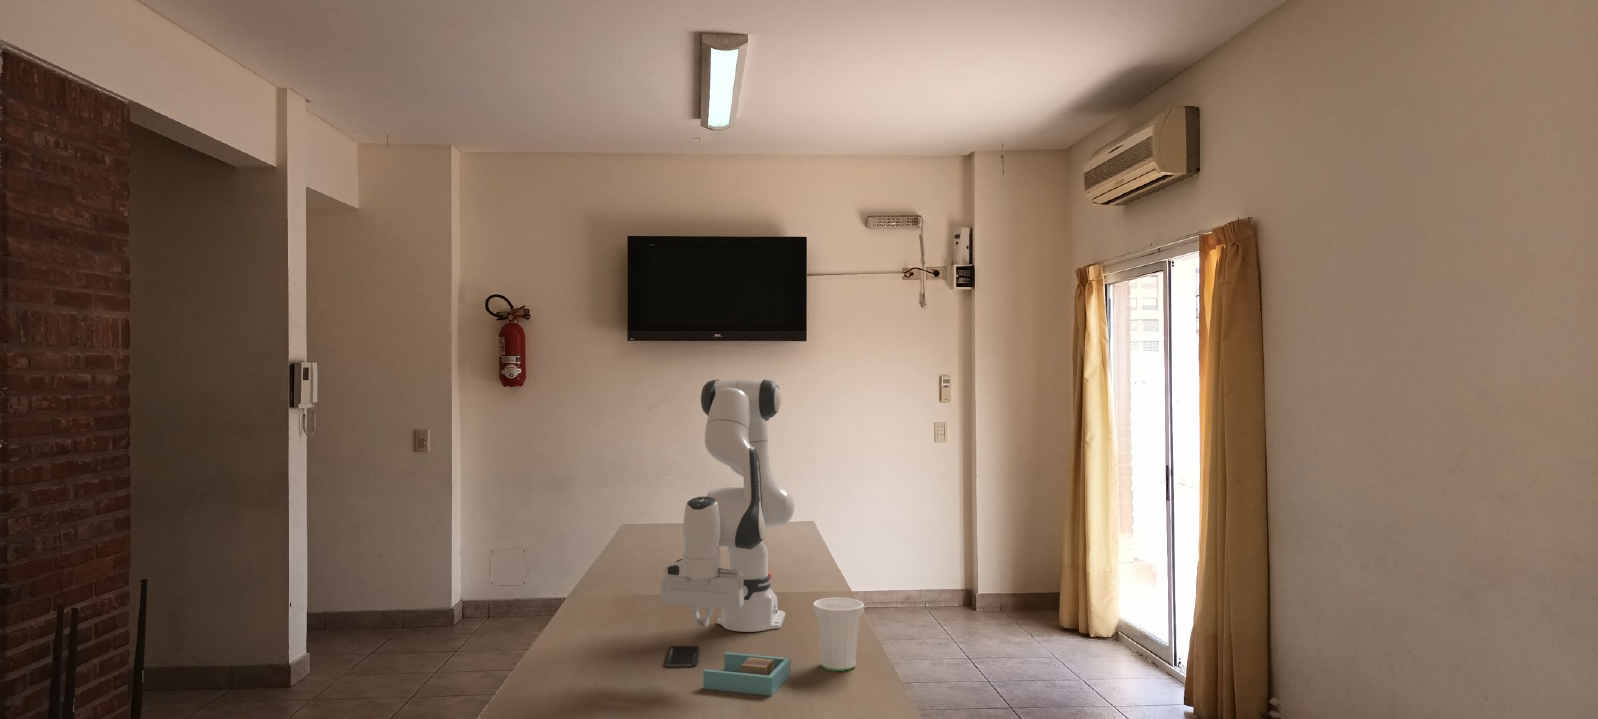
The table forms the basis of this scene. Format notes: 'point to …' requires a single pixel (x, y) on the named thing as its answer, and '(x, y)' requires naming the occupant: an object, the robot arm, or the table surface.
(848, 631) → the cup
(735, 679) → the box
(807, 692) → the table surface
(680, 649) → the phone
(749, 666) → the walnut block
